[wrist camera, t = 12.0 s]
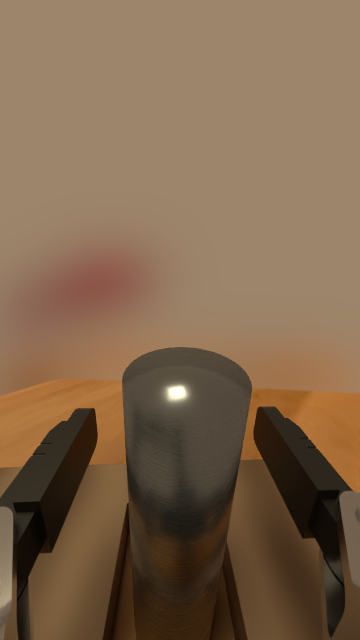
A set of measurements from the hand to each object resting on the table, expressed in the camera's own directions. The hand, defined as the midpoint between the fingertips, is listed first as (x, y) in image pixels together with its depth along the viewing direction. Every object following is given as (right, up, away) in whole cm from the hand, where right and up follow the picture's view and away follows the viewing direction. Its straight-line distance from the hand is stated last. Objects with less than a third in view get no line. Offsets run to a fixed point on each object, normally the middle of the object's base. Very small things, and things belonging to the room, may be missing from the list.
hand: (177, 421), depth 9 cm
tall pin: (0, -10, +1) cm, 10 cm away
